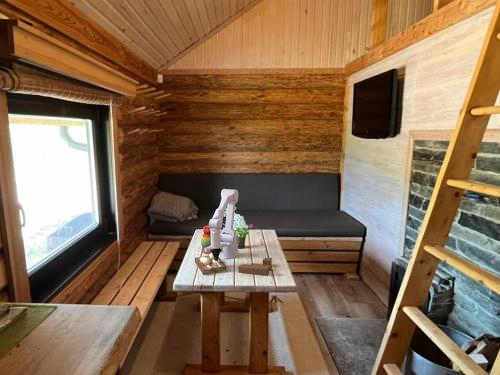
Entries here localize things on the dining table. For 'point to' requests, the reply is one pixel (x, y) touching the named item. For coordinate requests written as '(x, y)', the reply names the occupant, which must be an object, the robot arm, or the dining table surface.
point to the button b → (206, 261)
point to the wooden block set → (257, 268)
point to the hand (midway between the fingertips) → (216, 260)
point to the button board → (210, 266)
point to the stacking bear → (206, 239)
